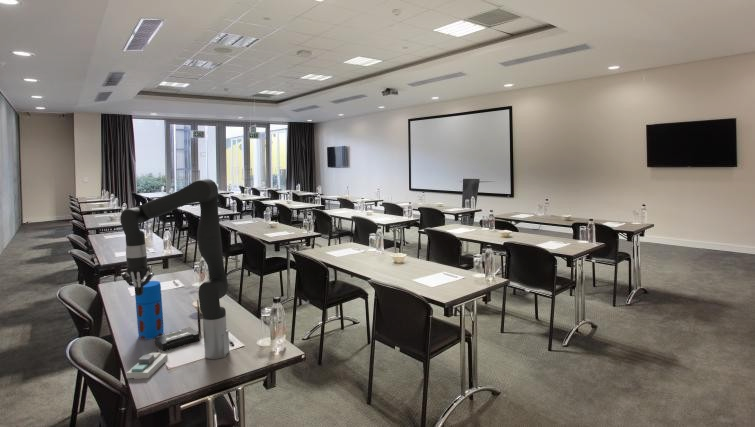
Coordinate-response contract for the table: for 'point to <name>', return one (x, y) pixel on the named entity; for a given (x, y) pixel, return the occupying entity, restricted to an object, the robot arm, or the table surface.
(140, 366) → the key
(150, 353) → the key
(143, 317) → the thermos
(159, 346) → the black wifi router
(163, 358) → the keypad
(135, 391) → the table surface
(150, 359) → the key
